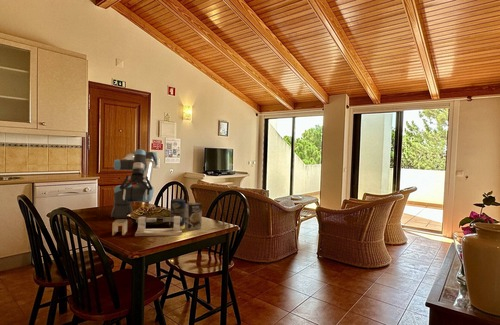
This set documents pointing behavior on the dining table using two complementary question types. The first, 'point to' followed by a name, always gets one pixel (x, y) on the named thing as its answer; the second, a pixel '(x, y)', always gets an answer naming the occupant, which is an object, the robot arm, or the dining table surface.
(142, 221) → the shaft rig
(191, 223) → the coffee box
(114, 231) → the block
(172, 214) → the canister
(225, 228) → the dining table surface
